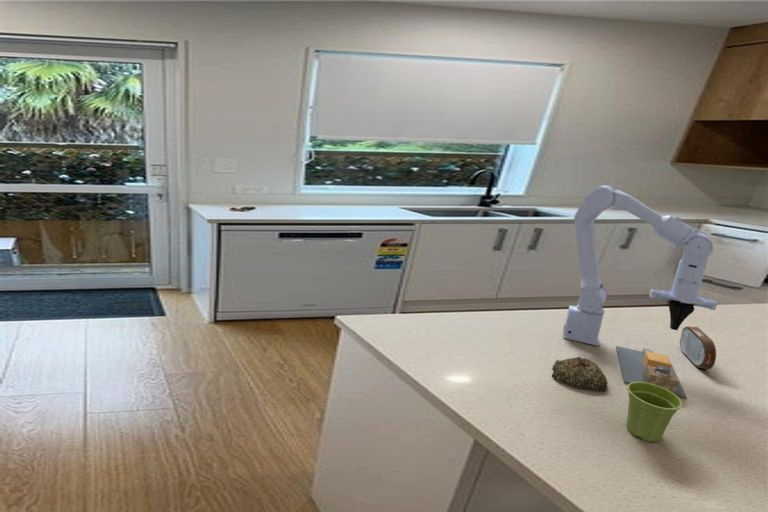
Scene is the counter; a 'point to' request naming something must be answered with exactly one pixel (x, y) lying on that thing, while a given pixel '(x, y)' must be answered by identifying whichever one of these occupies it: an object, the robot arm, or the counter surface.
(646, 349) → the rail
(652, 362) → the tan block with tabs
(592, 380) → the brown rock
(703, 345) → the tin
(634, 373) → the base mat
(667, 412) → the plant pot
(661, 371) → the grey domed push button
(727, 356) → the counter surface
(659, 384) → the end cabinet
